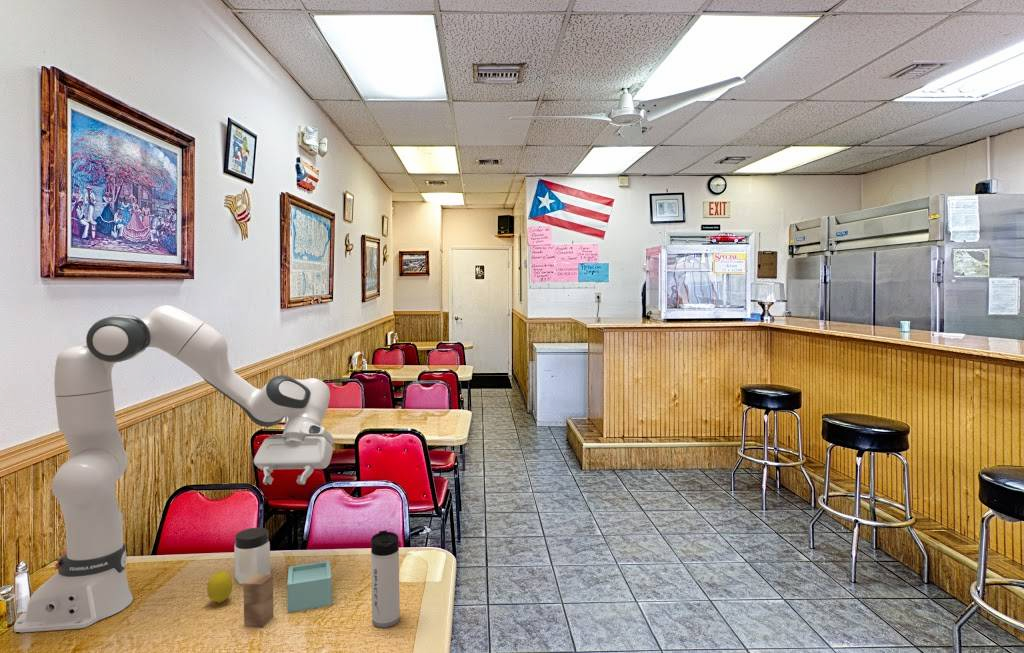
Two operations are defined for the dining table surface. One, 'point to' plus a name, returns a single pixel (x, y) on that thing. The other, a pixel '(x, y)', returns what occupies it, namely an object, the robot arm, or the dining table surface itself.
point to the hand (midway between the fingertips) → (283, 483)
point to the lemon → (219, 586)
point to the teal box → (309, 586)
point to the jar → (251, 553)
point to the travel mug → (385, 579)
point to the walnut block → (258, 600)
